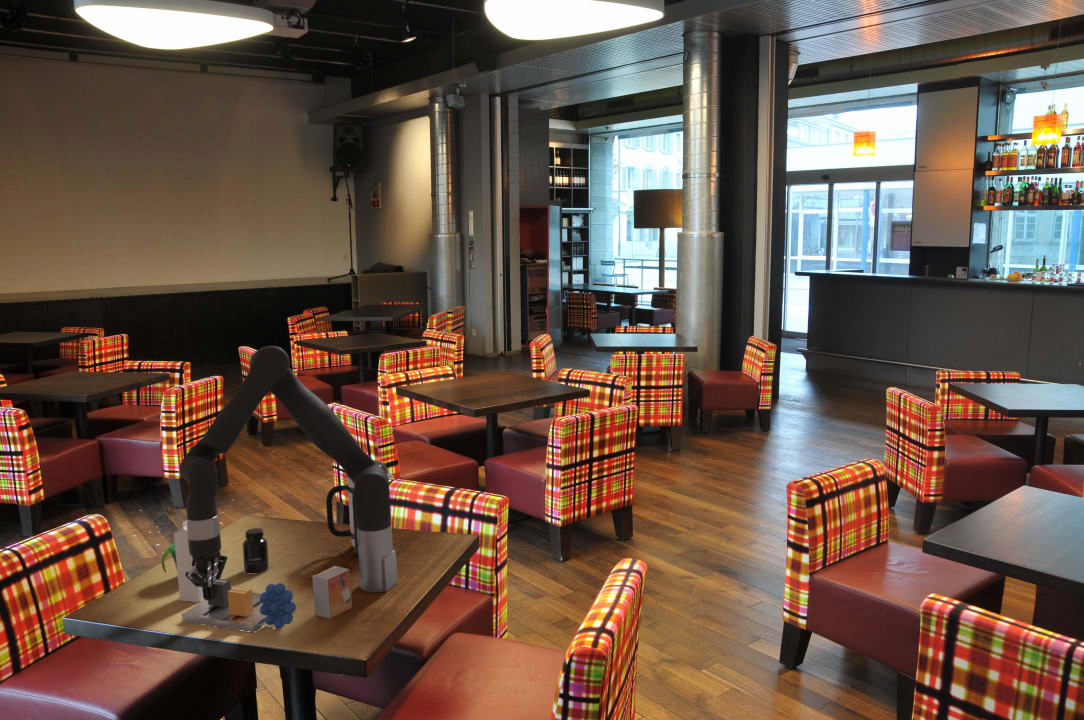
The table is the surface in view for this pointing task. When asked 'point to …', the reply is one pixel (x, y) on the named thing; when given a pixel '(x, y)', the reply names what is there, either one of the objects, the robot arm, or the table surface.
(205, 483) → the robot arm
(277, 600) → the grapes
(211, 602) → the block
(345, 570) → the small box
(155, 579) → the table surface
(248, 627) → the console
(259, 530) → the supplement bottle
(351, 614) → the table surface
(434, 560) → the table surface
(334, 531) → the coffee press
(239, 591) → the orange fader
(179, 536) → the milk
